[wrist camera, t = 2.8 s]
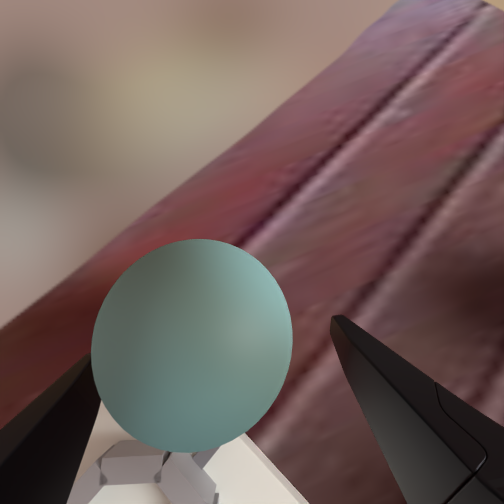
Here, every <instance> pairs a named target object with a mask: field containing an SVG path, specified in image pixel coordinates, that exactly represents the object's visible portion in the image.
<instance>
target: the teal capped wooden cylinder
mask: <svg viewBox="0 0 504 504" xmlns="http://www.w3.org/2000/svg"><path fill="white" fill-rule="evenodd" d="M291 352H292V325H291V318H290V313H289V310H288V306H287V303H286V300H285V298H284V295H283V293H282V291H281V289H280V287H279V286H278V284H277V282H276V280H275V279H274V278H273V276H272V275H271V274H270V272H269V271H268V270H267V269H266V268H265V267H264V266H263V265H262V264H261V263H260V262H259V261H258V260H256V259H255V258H254V257H253V256H251V255H250V254H248V253H247V252H245V251H243V250H241V249H240V248H237V247H235V246H233V245H230V244H227V243H223V242H220V241H214V240H208V239H191V240H183V241H178V242H174V243H170V244H167V245H165V246H162V247H159V248H157V249H155V250H153V251H151V252H149V253H148V254H146V255H145V256H143V257H142V258H140V259H139V260H137V261H136V262H135V263H134V264H132V265H131V266H130V267H129V268H128V269H127V270H126V271H125V272H124V273H123V274H122V275H121V276H120V277H119V279H118V280H117V281H116V282H115V284H114V285H113V286H112V288H111V289H110V291H109V293H108V294H107V296H106V298H105V299H104V302H103V304H102V306H101V308H100V310H99V313H98V316H97V319H96V322H95V326H94V331H93V336H92V346H91V362H92V371H93V376H94V381H95V384H96V387H97V390H98V393H99V396H100V398H101V400H102V402H103V404H104V406H105V408H106V409H107V410H108V412H109V413H110V415H111V416H112V418H113V419H114V420H115V421H116V422H117V423H118V424H119V426H120V427H121V428H122V429H123V430H125V431H126V432H127V433H128V434H130V435H131V436H132V437H134V438H135V439H137V440H139V441H141V442H142V443H144V444H146V445H148V446H151V447H154V448H157V449H160V450H164V451H170V452H176V453H192V452H200V451H206V450H209V449H213V448H216V447H219V446H221V445H224V444H226V443H228V442H230V441H232V440H234V439H236V438H237V437H239V436H240V435H242V434H243V433H245V432H246V431H247V430H249V429H250V428H251V427H252V426H253V425H254V424H256V423H257V422H258V421H259V420H260V418H261V417H262V416H263V415H264V414H265V413H266V412H267V411H268V409H269V408H270V406H271V405H272V403H273V402H274V400H275V399H276V397H277V395H278V393H279V391H280V389H281V387H282V385H283V383H284V380H285V377H286V374H287V372H288V368H289V363H290V359H291Z"/></svg>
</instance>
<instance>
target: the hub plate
mask: <svg viewBox="0 0 504 504" xmlns="http://www.w3.org/2000/svg"><path fill="white" fill-rule="evenodd" d="M67 504H309V503H308V502H307V500H306V499H305V498H304V497H303V496H302V495H301V494H300V493H299V492H298V491H297V490H296V488H295V487H294V486H293V485H292V484H291V483H290V482H289V481H288V480H287V479H286V478H285V476H284V475H283V474H282V473H281V472H280V471H279V470H278V469H277V468H276V467H275V466H274V464H273V463H272V462H271V461H270V460H269V459H268V458H267V457H266V456H265V455H264V454H263V452H262V451H261V450H260V449H259V448H258V447H257V446H256V445H255V444H254V443H253V442H252V440H251V439H250V438H249V437H248V436H247V435H246V434H245V433H243V434H242V435H240V436H239V437H237V438H236V439H234V440H232V441H230V442H228V443H226V444H224V445H221V446H219V447H216V448H213V449H209V450H206V451H200V452H192V453H176V452H170V451H164V450H160V449H157V448H154V447H151V446H148V445H146V444H144V443H142V442H141V441H139V440H137V439H135V438H134V437H132V436H131V435H130V434H128V433H127V432H126V431H125V430H123V429H122V428H121V427H120V426H119V424H118V423H117V422H116V421H115V420H114V419H113V418H112V416H111V415H110V413H109V412H108V410H107V409H106V408H105V406H104V404H103V402H102V400H101V404H100V408H99V412H98V415H97V418H96V421H95V424H94V427H93V430H92V433H91V436H90V438H89V441H88V444H87V447H86V450H85V453H84V456H83V458H82V461H81V464H80V467H79V470H78V473H77V476H76V478H75V481H74V484H73V487H72V490H71V493H70V496H69V498H68V501H67Z"/></svg>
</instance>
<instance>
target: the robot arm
mask: <svg viewBox="0 0 504 504" xmlns="http://www.w3.org/2000/svg"><path fill="white" fill-rule="evenodd" d="M330 335H331V338H332V341H333V343H334V346H335V349H336V352H337V354H338V357H339V360H340V363H341V365H342V368H343V371H344V373H345V376H346V378H347V380H348V382H349V384H350V386H351V388H352V390H353V392H354V394H355V397H356V399H357V401H358V403H359V405H360V407H361V409H362V411H363V413H364V415H365V417H366V419H367V421H368V423H369V425H370V428H371V430H372V432H373V434H374V436H375V438H376V440H377V442H378V444H379V446H380V448H381V450H382V452H383V454H384V456H385V458H386V461H387V463H388V465H389V467H390V469H391V471H392V473H393V475H394V477H395V479H396V481H397V483H398V485H399V487H400V489H401V492H402V494H403V496H404V498H405V500H406V502H407V504H504V427H503V426H501V425H500V424H498V423H496V422H495V421H493V420H492V419H490V418H489V417H487V416H485V415H484V414H482V413H481V412H479V411H478V410H476V409H475V408H473V407H472V406H470V405H469V404H467V403H466V402H464V401H463V400H461V399H460V398H458V397H457V396H456V395H454V394H453V393H451V392H450V391H448V390H447V389H446V388H444V387H443V386H441V385H440V384H439V383H437V382H434V380H433V379H431V378H430V377H429V376H427V375H426V374H424V373H423V372H422V371H420V370H419V369H418V368H416V367H415V366H413V365H412V364H411V363H409V362H408V361H406V360H405V359H404V358H402V357H401V356H399V355H398V354H397V353H395V352H394V351H392V350H391V349H390V348H388V347H387V346H385V345H384V344H383V343H381V342H380V341H379V340H377V339H376V338H374V337H373V336H372V335H370V334H369V333H367V332H366V331H365V330H363V329H362V328H360V327H359V326H358V325H356V324H355V323H353V322H352V321H351V320H349V319H348V318H346V317H345V316H344V315H335V316H332V317H331V324H330ZM100 404H101V398H100V396H99V393H98V390H97V387H96V384H95V381H94V376H93V371H92V362H91V353H88V354H86V355H85V356H84V357H82V358H81V359H80V360H79V361H78V362H77V363H76V364H74V365H73V366H72V367H71V368H70V369H69V370H68V371H67V372H65V373H64V374H63V375H62V376H61V377H60V378H59V379H57V380H56V381H55V382H54V383H53V384H52V385H51V386H49V387H48V388H47V389H46V390H45V391H44V392H43V393H42V394H40V395H39V396H38V397H37V398H36V399H35V400H34V401H32V402H31V403H30V404H29V405H28V406H27V407H26V408H24V409H23V410H22V411H21V412H20V413H19V414H18V415H17V416H15V417H14V418H13V419H12V420H11V421H10V422H9V423H7V424H6V425H5V426H4V427H3V428H2V429H1V430H0V504H67V501H68V498H69V496H70V493H71V490H72V487H73V484H74V481H75V478H76V476H77V473H78V470H79V467H80V464H81V461H82V458H83V456H84V453H85V450H86V447H87V444H88V441H89V438H90V436H91V433H92V430H93V427H94V424H95V421H96V418H97V415H98V412H99V408H100Z"/></svg>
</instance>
